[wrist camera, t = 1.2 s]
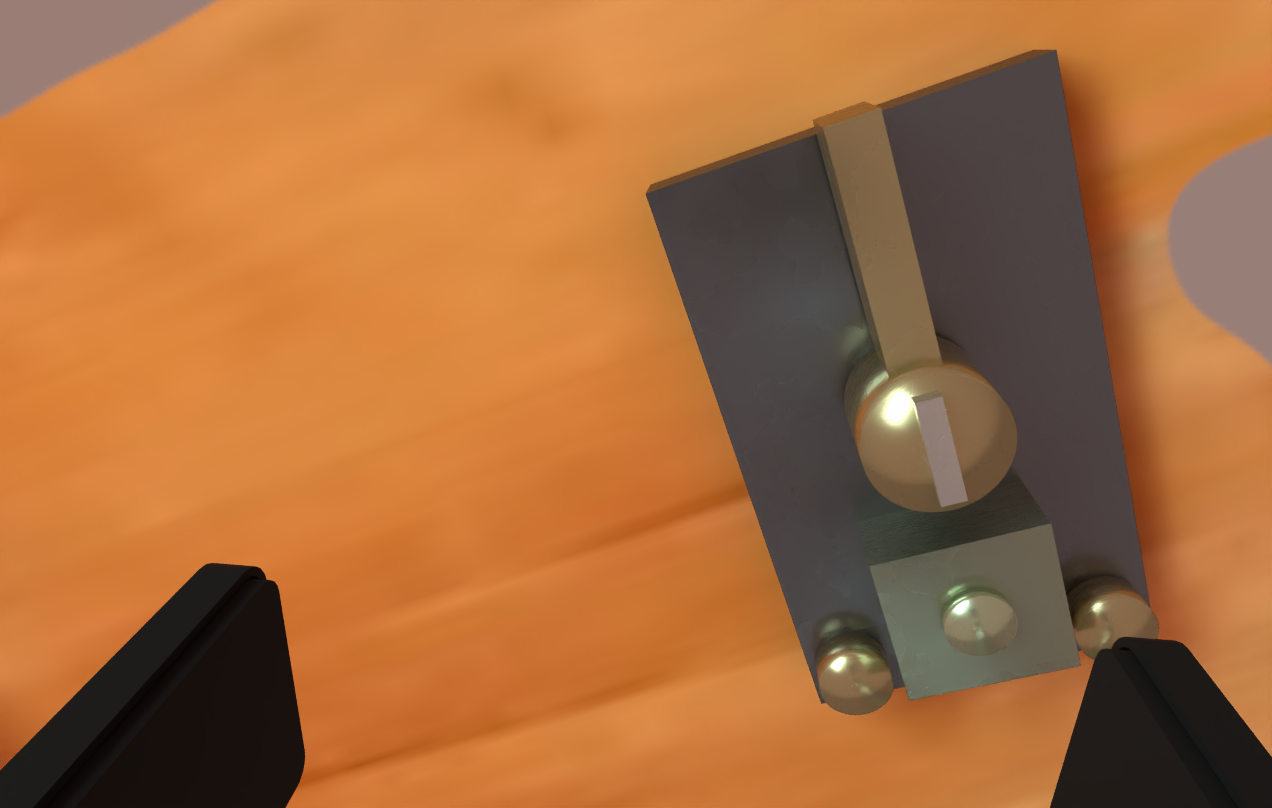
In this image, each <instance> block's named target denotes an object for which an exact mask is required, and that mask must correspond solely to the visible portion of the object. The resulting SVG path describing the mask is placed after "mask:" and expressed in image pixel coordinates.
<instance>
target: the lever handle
mask: <svg viewBox="0 0 1272 808" xmlns="http://www.w3.org/2000/svg"><path fill="white" fill-rule="evenodd" d="M813 123H814V127H815V130H816V134H817V138H818V141H819V145H820V149H821V153H822V156H823V160H824V164H825V167H826V171H827V175H828V179H829V182H830V186H831V190H832V194H833V197H834V201H835V205H836V208H837V212H838V216H839V220H840V223H841V227H842V231H843V234H844V238H845V242H846V246H847V249H848V253H849V257H850V261H851V264H852V268H853V272H854V275H855V279H856V283H857V287H858V290H859V294H860V298H861V301H862V305H863V309H864V313H865V316H866V320H867V324H868V327H869V331H870V335H871V339H872V342H873V346H874V348H872V349H871V350H870V351H868V352H867V353H866V354H865V355H864V356H863V357H862V358H861V359H860V360H859V361H858V363H857V364H856V365H855V367H854V368H853V370H852V372H851V374H850V375H849V378H848V381H847V383H846V387H845V392H844V408H845V413H846V417H847V420H848V423H849V426H850V429H851V432H852V435H853V438H854V441H855V444H856V447H857V450H858V453H859V456H860V459H861V462H862V465H863V467H864V470H865V473H866V475H867V477H868V479H869V480H870V482H871V483H872V485H873V486H874V487H875V489H876V490H877V491H878V492H879V493H880V494H881V495H883V496H884V497H885V498H887V499H888V500H890V501H891V502H893V503H895V504H897V505H899V506H902V507H904V508H907V509H911V510H914V511H921V512H944V511H950V510H955V509H958V508H961V507H964V506H967V505H969V504H971V503H973V502H975V501H977V500H979V499H980V498H982V497H983V496H985V495H986V494H988V493H989V492H990V491H991V490H992V489H994V488H995V487H996V486H997V485H998V484H999V482H1000V481H1001V480H1002V479H1003V478H1004V476H1005V475H1006V473H1007V472H1008V470H1009V468H1010V466H1011V464H1012V462H1013V459H1014V456H1015V453H1016V447H1017V429H1016V424H1015V421H1014V417H1013V415H1012V413H1011V411H1010V409H1009V407H1008V406H1007V404H1006V403H1005V401H1004V400H1003V399H1002V398H1001V396H1000V395H999V394H998V393H997V391H996V390H995V389H994V388H993V386H992V385H991V384H990V383H989V381H988V380H987V379H986V378H985V376H984V375H983V374H982V373H981V371H980V370H979V369H978V368H977V366H976V365H975V364H974V363H973V361H972V360H971V359H970V358H969V356H968V355H967V354H966V353H965V352H964V351H963V350H962V349H961V348H959V347H958V346H957V345H955V344H954V343H952V342H950V341H948V340H946V339H943V338H941V337H938V336H936V334H935V330H934V326H933V322H932V318H931V313H930V309H929V305H928V301H927V297H926V293H925V289H924V284H923V280H922V276H921V272H920V268H919V264H918V259H917V255H916V251H915V247H914V243H913V239H912V235H911V230H910V226H909V222H908V218H907V214H906V210H905V205H904V201H903V197H902V193H901V189H900V185H899V181H898V176H897V172H896V168H895V164H894V160H893V156H892V151H891V147H890V143H889V139H888V135H887V131H886V127H885V122H884V118H883V114H882V110H881V107H878V106H875V105H872V104H870V103H867V102H861V103H859V104H856V105H853V106H850V107H847V108H844V109H842V110H839V111H836V112H833V113H830V114H827V115H825V116H822V117H819V118H816V119H813Z"/></svg>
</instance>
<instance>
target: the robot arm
mask: <svg viewBox="0 0 1272 808" xmlns="http://www.w3.org/2000/svg"><path fill="white" fill-rule="evenodd" d="M304 763H305V749H304V743H303V737H302V731H301V724H300V718H299V712H298V706H297V700H296V693H295V687H294V681H293V675H292V669H291V662H290V656H289V650H288V644H287V637H286V631H285V625H284V619H283V613H282V606H281V600H280V594H279V590H278V586H277V585H276V583H275V582H274V581H271V580H266V577H265V574H264V572H263V571H262V570H261V569H260V568H258V567H256V566H243V565H231V564H219V563H210V564H206V565H205V566H203V567H202V568H200V569H199V570H198V571H197V572H196V573H195V574H194V575H193V576H192V577H191V578H190V579H189V580H188V581H187V582H186V583H185V584H184V585H183V586H182V587H181V588H180V589H179V590H178V591H177V592H176V593H175V595H174V596H173V597H172V598H171V599H170V600H169V601H168V602H167V603H166V604H165V605H164V606H163V607H162V608H161V609H160V610H159V611H158V612H157V613H156V614H155V615H154V616H153V617H152V618H151V619H150V620H149V621H148V622H147V623H146V624H145V625H144V626H143V627H142V628H141V629H140V630H139V631H138V632H137V633H136V634H135V635H134V636H133V637H132V638H131V639H130V640H129V641H128V642H127V643H126V644H125V645H124V646H123V647H122V648H121V649H120V650H119V651H118V652H117V653H116V654H115V655H114V656H113V657H112V658H111V659H110V660H109V661H108V662H107V663H106V664H105V665H104V666H103V667H102V668H101V669H100V670H99V671H98V672H97V673H96V674H95V675H94V676H93V677H92V678H91V679H90V680H89V681H88V682H87V683H86V684H85V685H84V686H83V687H82V689H81V690H80V691H79V692H78V693H77V694H76V695H75V696H74V697H73V698H72V699H71V700H70V701H69V702H68V703H67V704H66V705H65V706H64V707H63V708H62V709H61V710H60V711H59V712H58V713H57V714H56V715H55V716H54V717H53V718H52V719H51V720H50V721H49V722H48V723H47V724H46V725H45V726H44V727H43V728H42V729H41V730H40V731H39V732H38V733H37V734H36V735H35V736H34V737H33V738H32V739H31V740H30V741H29V742H28V743H27V744H26V745H25V746H24V747H23V748H22V749H21V750H20V751H19V752H18V753H17V754H16V755H15V756H14V757H13V758H12V759H11V760H10V761H9V762H8V763H7V764H6V765H5V766H4V767H3V768H2V769H1V770H0V808H285V807H286V806H287V804H288V802H289V800H290V798H291V797H292V795H293V793H294V791H295V790H296V788H297V786H298V784H299V782H300V779H301V776H302V773H303V768H304ZM1050 808H1272V757H1271V755H1270V754H1269V753H1268V752H1267V750H1266V749H1265V748H1264V746H1263V745H1262V744H1261V743H1260V741H1259V740H1258V739H1257V737H1256V736H1255V735H1254V733H1253V732H1252V731H1251V730H1250V728H1249V727H1248V726H1247V724H1246V723H1245V722H1244V720H1243V719H1242V718H1241V717H1240V715H1239V714H1238V713H1237V711H1236V710H1235V709H1234V708H1233V706H1232V705H1231V704H1230V702H1229V701H1228V700H1227V698H1226V697H1225V696H1224V695H1223V693H1222V692H1221V691H1220V689H1219V688H1218V687H1217V685H1216V684H1215V683H1214V682H1213V680H1212V679H1211V678H1210V676H1209V675H1208V674H1207V673H1206V671H1205V670H1204V669H1203V667H1202V666H1201V665H1200V663H1199V662H1198V661H1197V660H1196V658H1195V657H1194V656H1193V654H1192V653H1191V652H1190V650H1189V649H1188V648H1187V647H1186V646H1185V645H1183V644H1182V643H1180V642H1177V641H1173V640H1161V639H1148V638H1136V637H1121V638H1118V639H1117V640H1116V641H1115V642H1114V644H1113V646H1112V648H1111V649H1101V650H1100V651H1099V652H1098V653H1097V656H1096V658H1095V661H1094V664H1093V667H1092V670H1091V674H1090V677H1089V680H1088V684H1087V687H1086V690H1085V694H1084V697H1083V700H1082V703H1081V707H1080V710H1079V713H1078V717H1077V720H1076V723H1075V727H1074V730H1073V733H1072V736H1071V740H1070V743H1069V746H1068V750H1067V753H1066V756H1065V760H1064V763H1063V766H1062V769H1061V773H1060V776H1059V779H1058V783H1057V786H1056V789H1055V793H1054V796H1053V799H1052V802H1051V806H1050Z"/></svg>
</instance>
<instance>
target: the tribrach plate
mask: <svg viewBox="0 0 1272 808" xmlns="http://www.w3.org/2000/svg"><path fill="white" fill-rule="evenodd" d="M876 106H878V107H881V110H882V114H883V118H884V122H885V127H886V131H887V135H888V139H889V143H890V147H891V151H892V156H893V160H894V164H895V168H896V172H897V176H898V181H899V185H900V189H901V193H902V197H903V201H904V205H905V210H906V214H907V218H908V222H909V226H910V230H911V235H912V239H913V243H914V247H915V251H916V255H917V259H918V264H919V268H920V272H921V276H922V280H923V284H924V289H925V293H926V297H927V301H928V305H929V309H930V313H931V318H932V322H933V326H934V330H935V334H936V336H938V337H941V338H943V339H946V340H948V341H950V342H952V343H954V344H955V345H957V346H958V347H959V348H961V349H962V350H963V351H964V352H965V353H966V354H967V355H968V356H969V358H970V359H971V360H972V361H973V363H974V364H975V365H976V366H977V368H978V369H979V370H980V371H981V373H982V374H983V375H984V376H985V378H986V379H987V380H988V381H989V383H990V384H991V385H992V386H993V388H994V389H995V390H996V391H997V393H998V394H999V395H1000V396H1001V398H1002V399H1003V400H1004V401H1005V403H1006V404H1007V406H1008V407H1009V409H1010V411H1011V413H1012V415H1013V417H1014V421H1015V424H1016V429H1017V447H1016V453H1015V456H1014V459H1013V462H1012V464H1011V466H1010V468H1009V470H1008V472H1007V473H1006V475H1005V476H1004V478H1003V479H1002V480H1001V481H1000V482H999V484H998V485H997V486H996V487H995V488H994V489H992V490H991V491H990V492H989V493H988V494H986V495H985V496H983V497H982V498H980V499H979V500H977V501H975V502H973V503H971V504H969V505H967V506H964V507H961V508H958V509H955V510H950V511H944V512H921V511H914V510H911V509H907V508H904V507H902V506H899V505H897V504H895V503H893V502H891V501H890V500H888V499H887V498H885V497H884V496H883V495H881V494H880V493H879V492H878V491H877V490H876V489H875V487H874V486H873V485H872V483H871V482H870V480H869V479H868V477H867V475H866V473H865V470H864V467H863V465H862V462H861V459H860V456H859V453H858V450H857V447H856V444H855V441H854V438H853V435H852V432H851V429H850V426H849V423H848V420H847V417H846V413H845V408H844V392H845V387H846V383H847V381H848V378H849V375H850V374H851V372H852V370H853V368H854V367H855V365H856V364H857V363H858V361H859V360H860V359H861V358H862V357H863V356H864V355H865V354H866V353H867V352H868V351H870V350H871V349H872V348H874V346H873V342H872V339H871V335H870V331H869V327H868V324H867V320H866V316H865V313H864V309H863V305H862V301H861V298H860V294H859V290H858V287H857V283H856V279H855V275H854V272H853V268H852V264H851V261H850V257H849V253H848V249H847V246H846V242H845V238H844V234H843V231H842V227H841V223H840V220H839V216H838V212H837V208H836V205H835V201H834V197H833V194H832V190H831V186H830V182H829V179H828V175H827V171H826V167H825V164H824V160H823V156H822V153H821V149H820V145H819V141H818V138H817V134H816V130H815V127H813V128H811V129H808V130H805V131H802V132H799V133H796V134H794V135H791V136H788V137H785V138H782V139H779V140H776V141H774V142H771V143H768V144H765V145H762V146H759V147H757V148H754V149H751V150H748V151H745V152H742V153H740V154H737V155H734V156H731V157H728V158H725V159H723V160H720V161H717V162H714V163H711V164H708V165H706V166H703V167H700V168H697V169H694V170H691V171H688V172H686V173H683V174H680V175H677V176H674V177H671V178H669V179H666V180H663V181H660V182H657V183H654V184H652V185H650V187H649V189H648V190H647V192H646V196H647V199H648V202H649V205H650V208H651V211H652V213H653V216H654V219H655V222H656V225H657V228H658V231H659V234H660V237H661V240H662V242H663V245H664V248H665V251H666V254H667V257H668V260H669V263H670V266H671V269H672V272H673V274H674V277H675V280H676V283H677V286H678V289H679V292H680V295H681V298H682V301H683V303H684V306H685V309H686V312H687V315H688V318H689V321H690V324H691V327H692V330H693V332H694V335H695V338H696V341H697V344H698V347H699V350H700V353H701V356H702V359H703V362H704V364H705V367H706V370H707V373H708V376H709V379H710V382H711V385H712V388H713V391H714V393H715V396H716V399H717V402H718V405H719V408H720V411H721V414H722V417H723V420H724V423H725V425H726V428H727V431H728V434H729V437H730V440H731V443H732V446H733V449H734V452H735V454H736V457H737V460H738V463H739V466H740V469H741V472H742V475H743V478H744V481H745V483H746V486H747V489H748V492H749V495H750V498H751V501H752V504H753V507H754V510H755V513H756V515H757V518H758V521H759V524H760V527H761V530H762V533H763V536H764V539H765V542H766V544H767V547H768V550H769V553H770V556H771V559H772V562H773V565H774V568H775V571H776V574H777V576H778V579H779V582H780V585H781V588H782V591H783V594H784V597H785V600H786V603H787V605H788V608H789V611H790V614H791V617H792V620H793V623H794V626H795V629H796V632H797V635H798V637H799V640H800V643H801V646H802V649H803V652H804V655H805V658H806V661H807V664H808V666H809V669H810V672H811V675H812V678H813V681H814V684H815V687H816V690H817V693H818V695H819V698H820V701H821V704H822V703H827V704H828V705H829V706H830V707H831V708H833V709H834V710H836V711H838V712H841V713H844V714H849V715H862V714H867V713H871V712H873V711H876V710H878V709H879V708H881V707H882V706H883V705H885V704H886V702H887V701H888V700H889V698H890V697H891V695H892V692H893V689H895V688H900V687H906V691H907V694H908V697H909V700H914V699H919V698H924V697H929V696H934V695H939V694H944V693H949V692H954V691H959V690H964V689H968V688H973V687H978V686H983V685H988V684H993V683H998V682H1003V681H1008V680H1013V679H1018V678H1023V677H1028V676H1033V675H1038V674H1043V673H1048V672H1053V671H1058V670H1063V669H1068V668H1072V667H1077V666H1081V664H1080V659H1079V655H1078V651H1080V650H1082V651H1083V652H1084V653H1085V654H1086V655H1087V656H1089V657H1090V658H1092V659H1094V660H1095V658H1096V656H1097V653H1098V652H1099V651H1100V650H1101V649H1111V648H1112V646H1113V644H1114V642H1115V641H1116V640H1117V639H1118V638H1121V637H1136V638H1148V639H1156V638H1157V636H1158V632H1159V623H1158V619H1157V617H1156V615H1155V614H1154V612H1153V611H1152V610H1151V609H1150V603H1149V597H1148V591H1147V585H1146V580H1145V574H1144V568H1143V562H1142V556H1141V550H1140V544H1139V538H1138V532H1137V526H1136V520H1135V514H1134V508H1133V502H1132V496H1131V490H1130V484H1129V479H1128V473H1127V467H1126V461H1125V455H1124V449H1123V443H1122V437H1121V431H1120V425H1119V419H1118V413H1117V407H1116V401H1115V395H1114V389H1113V384H1112V378H1111V372H1110V366H1109V360H1108V354H1107V348H1106V342H1105V336H1104V330H1103V324H1102V318H1101V312H1100V306H1099V300H1098V294H1097V288H1096V283H1095V277H1094V271H1093V265H1092V259H1091V253H1090V247H1089V241H1088V235H1087V229H1086V223H1085V217H1084V211H1083V205H1082V199H1081V193H1080V187H1079V182H1078V176H1077V170H1076V164H1075V158H1074V152H1073V146H1072V140H1071V134H1070V128H1069V122H1068V116H1067V110H1066V104H1065V98H1064V92H1063V86H1062V81H1061V75H1060V69H1059V63H1058V57H1057V51H1056V50H1032V51H1029V52H1026V53H1023V54H1021V55H1018V56H1015V57H1012V58H1009V59H1006V60H1004V61H1001V62H998V63H995V64H992V65H989V66H987V67H984V68H981V69H978V70H975V71H972V72H969V73H967V74H964V75H961V76H958V77H955V78H952V79H950V80H947V81H944V82H941V83H938V84H935V85H933V86H930V87H927V88H924V89H921V90H918V91H916V92H913V93H910V94H907V95H904V96H901V97H899V98H896V99H893V100H890V101H887V102H884V103H882V104H879V105H876Z"/></svg>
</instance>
